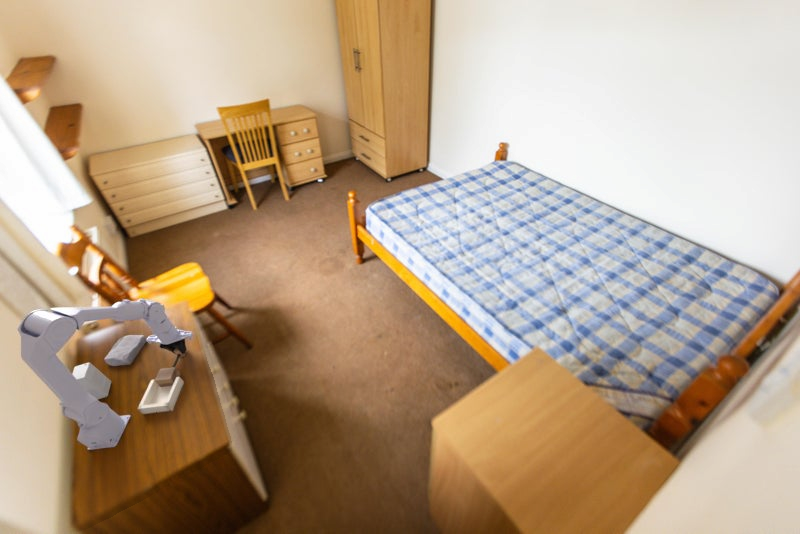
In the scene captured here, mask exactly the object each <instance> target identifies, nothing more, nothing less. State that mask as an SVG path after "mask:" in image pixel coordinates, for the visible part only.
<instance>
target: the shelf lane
mask: <svg viewBox="0 0 800 534" xmlns="http://www.w3.org/2000/svg"><path fill="white" fill-rule="evenodd" d="M184 384H185V381H184V380H183V379H182V378H181V376H180V377H176V379H175V381H174V384H173V386H166V387H160V386H159V385H158V384H157V383H156V382H155V379H151V380H150V382H149V383H148V386H147V387H146V388H147V389H146V390H145V392H144V394H143V397H142V399H141V401H140V402H139V405H138V407H137V410H138V411H139V412H140V413H141V414H143V415H147V414H157V413H165V412H173V411H174V409H175V406H176V403H177V401H178V399H179V397H180V394H181V392H182V389H183V386H184ZM156 412H157V413H156Z"/></svg>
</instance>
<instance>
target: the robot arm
mask: <svg viewBox="0 0 800 534" xmlns="http://www.w3.org/2000/svg"><path fill="white" fill-rule="evenodd" d="M50 310H51V311H50ZM165 310H166V308H165V305H164V304H162V303H160V302H158V301H155V300H152V299H147V298H143V297H141V298H139V299H138V300H132V301H131V300H130V299H126V298H125V299H122V301H117V302H115V303H114V304H112V305H111V306H76V307H75V306H74V307H73V306H71V307H69V306H68V307H67V306H66V307H62V306H61V307H51V308H49V310H48V309H45V308H44V309H41V308H40V309H35V310H32V311H30V312H29V313H27V314H26V315H25V316H24V318H23V319H22V321H21V322H20V324H19V325H18V327H17V331H18V333H19V336H20V350H21V351H20V357H21V359H22V361H23V362H24V363H25V364H26V365H27V366H28V368H30V369H31V370H32V371H33V373H34V374H35V375H36V376H37V377H38V378H39V379H40V380H41V381H42V382H43V384H45V385H46V387H47V388H48V389H49V390H50V391H51V392H52V393H53V394H54V396H56V398H58V400H60V401H59V402H58V404H59V405H60V406H61V413H62V416H64V417H65V418H69V419H72V420H74V421H75V422H76V424H77V426H78V427H79V432H78V435H77V438H76V439H77V441H78V442H79V443H80V444H82V445H84V446H85V447H86V448H87V450H88V451H89V450H91V451H92V450H99V449H107V448H115V447H116V446H117V445H118V444H119V441H120V439H121V437H122V435H123V434H124V431H125V429H126V427H127V425H128V422H129V421H130V419H131V417H132V416H131V415H130V414H126V415H119V414H117V413H116V411H114V410H113V409H111V408H110V406H109V405H108V404H107V403H106V402H101V401H99V399H98V400H97V399H96V398H95V397H93V396H92V395H90V394H89V393H88V392H87V391H86V390H85V389H84V388H83V386H82V385H81V384H80V383H79V382H78V380H77V379H76V378H75V377H74V376H73V375H72V373H73V372H71V371H70V370H69V368H68V366H66V364H64V362H63V361H62V360H61V359H60V357H59V356H58V355H57V354H58V352H60V351H61V349H62V348H63V347H64V346H65V345H66V344H67V343H68V342H69V340H70V339H71V338H72V337H73V336H74V335H75V334H76V333H77V332H76V331H77V330H79V331H81V330H82V329H83V326H84V324H85V323H86V322H87V323H88V322H93V321H94V322H95V321H101V320H108V319H109V320H110V319H112V320H113V321H115V322H117V323H118V322H128V321H136V320H138V321H139V320H143V321H144V322H145V323H146V325H147V326H148V327H149V329H150V330H151V331H152V332H153V333H154V334H152V335H148V337H146V339H147V340H146V343H148V344H151V345H152V344H153V343H157V344H159V348H160V349H163V350H167V351H169V352H171V353H173V354H174V355H176V353H175V352H174V349H175V348H177V349H178V350H179V351H180V352H181V353H182V354H185V352H186V353H187V351H188V349H187V346H186V339H188V340H193V338H194V336H195V334H194V332H193V331H191V330H190V331H187V330H181V329H178V327H177V326H175V324H174V323H172V320H170V318H169V317H168V316H167V314H166V313H165ZM186 350H187V351H186ZM185 355H186V354H185Z"/></svg>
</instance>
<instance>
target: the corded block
mask: <svg viewBox="0 0 800 534" xmlns="http://www.w3.org/2000/svg"><path fill="white" fill-rule="evenodd" d="M187 351H188V349H187V350H186V352H185V354H182V353H181V352H180V351H179V350H178V349H177V348H175V349H174V352H175V353H176V354H175V355H176V358H175V361H174V362H173V364H172V367H163V368H159V370H158V373H157V374H156V377H155V382H156V383H157V384H158V385H159V386H160V387H166V386H173V384H174V381H175V379H176V377H180V378H181V372H180V370H179V369H178V368H177V367H176V366H177V365H178V364H177V363H178V362H179V360H180V358H185V356H186V354H187Z"/></svg>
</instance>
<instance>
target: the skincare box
mask: <svg viewBox="0 0 800 534" xmlns="http://www.w3.org/2000/svg"><path fill="white" fill-rule="evenodd" d="M71 373H72V375H73V376H74V377H75V378H76V379H77V380H78V382H79V383H80V384H81V385H82V386H83V388H84V389H85V390H86V391H87V392H88V393H89V394H90V395H92V396H93V397H95V398H96V399H97V400H98V401H99V400H100V399H104V398H107V397H108V396H109V391H110V389H111V384H112V380H110V379H109V378H108V377H107V376H106V375H105V374H103V373H102V372H101V371H100V370H99V369H98V368H97V367H95V365H94V364H92V363H91V362H85V363H81V364H79V365H76V366H74V368H73V371H72V372H71Z"/></svg>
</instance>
